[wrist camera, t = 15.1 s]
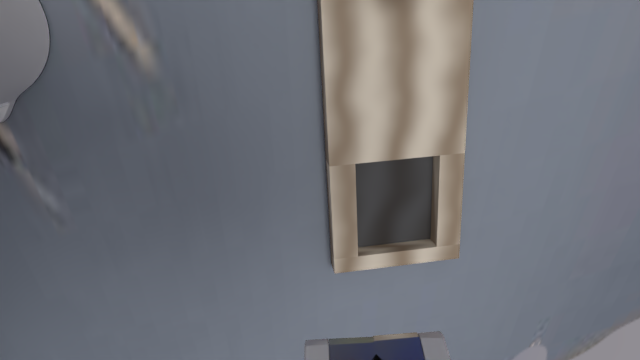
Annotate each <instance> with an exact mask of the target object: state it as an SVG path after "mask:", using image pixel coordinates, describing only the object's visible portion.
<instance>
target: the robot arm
mask: <svg viewBox="0 0 640 360" xmlns="http://www.w3.org/2000/svg"><path fill="white" fill-rule="evenodd" d="M49 45H50V37H49V28H48V23H47V20H46V16H45V13H44V11H43V8H42V6H41V4H40V2H39V0H0V123H1V122H4V121H5V120H6V119H7V118H8V117H9V115H10V113H11V111H12V109H13V107H14V104H15V101H16V99H17V98H18V96H19V95H20V94H21V93H22V92H24V91H25V90H26V89H27V88H28V87H30V86H31V85H32V84H33V83H34V82H35V81H36V79H37V78H38V77H39V75H40V74H41V72H42V70H43V68H44V66H45V64H46V61H47V58H48V53H49ZM305 360H451V359H450V356H449V352H448V349H447V346H446V342H445V339H444V336H443V334H442V333H441V332H440V331H437V332H426V333H403V334H391V335H379V336H373V337H358V338H336V339H329V341H328V339H315V340H306V341H305Z"/></svg>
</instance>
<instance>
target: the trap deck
mask: <svg viewBox="0 0 640 360" xmlns="http://www.w3.org/2000/svg"><path fill="white" fill-rule="evenodd" d="M317 2H318V21H319V40H320V58H321V77H322V96H323V114H324V133H325V152H326V171H327V189H328V208H329V227H330V245H331V263H332V267H333V270H334V273H343V272H351V271H359V270H367V269H375V268H383V267H391V266H400V265H408V264H416V263H424V262H432V261H440V260H448V259H456V258H459V249H460V231H461V213H462V195H463V177H464V159H465V141H466V123H467V106H468V88H469V70H470V52H471V34H472V16H473V0H317Z"/></svg>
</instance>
